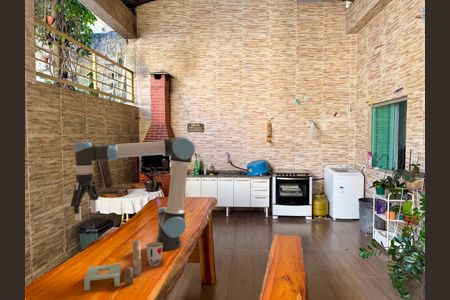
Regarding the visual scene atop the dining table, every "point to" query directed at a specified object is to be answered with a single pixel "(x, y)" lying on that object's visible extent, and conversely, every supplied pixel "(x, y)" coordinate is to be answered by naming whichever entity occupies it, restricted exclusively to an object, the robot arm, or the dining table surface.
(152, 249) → the cup
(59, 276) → the dining table surface
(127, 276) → the short pin
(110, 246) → the dining table surface
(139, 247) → the long pin
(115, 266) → the bridge
